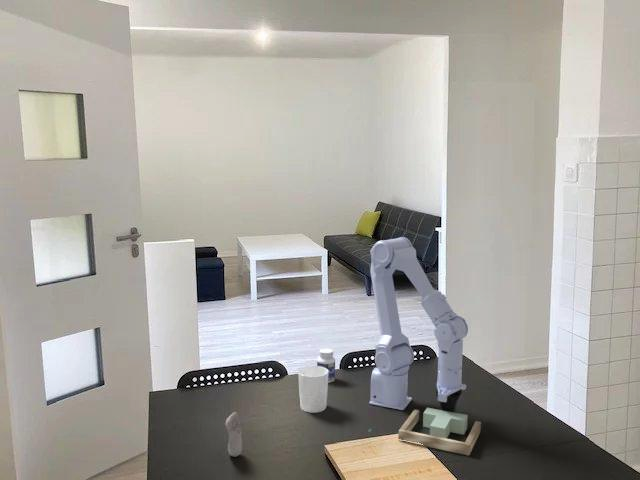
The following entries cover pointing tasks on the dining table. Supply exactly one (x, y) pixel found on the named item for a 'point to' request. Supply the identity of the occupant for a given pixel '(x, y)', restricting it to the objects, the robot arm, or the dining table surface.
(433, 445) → the dock
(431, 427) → the tee
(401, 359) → the robot arm
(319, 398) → the white cup
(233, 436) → the fossil
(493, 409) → the dining table surface
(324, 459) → the dining table surface
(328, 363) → the pill bottle
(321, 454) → the dining table surface
